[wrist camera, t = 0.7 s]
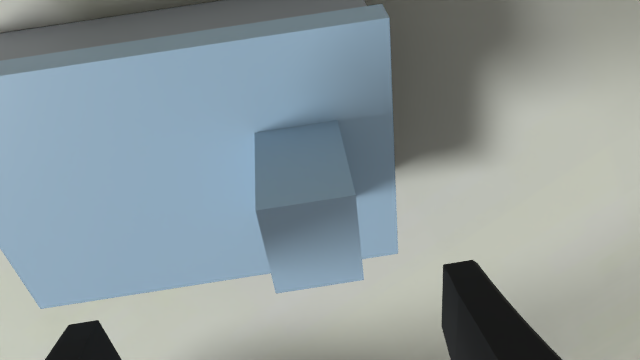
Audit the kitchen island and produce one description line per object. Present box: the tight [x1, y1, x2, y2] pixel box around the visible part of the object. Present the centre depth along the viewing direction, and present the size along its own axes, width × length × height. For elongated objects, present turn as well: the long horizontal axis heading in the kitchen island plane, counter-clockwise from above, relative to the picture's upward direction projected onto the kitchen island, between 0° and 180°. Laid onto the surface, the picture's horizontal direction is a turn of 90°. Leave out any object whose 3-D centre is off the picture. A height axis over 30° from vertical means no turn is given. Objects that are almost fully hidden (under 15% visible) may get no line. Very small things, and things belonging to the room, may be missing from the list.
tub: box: [0, 0, 367, 61], centre depth 19 cm, size 8×12×3 cm, turn 96°
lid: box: [0, 4, 398, 309], centre depth 16 cm, size 9×13×4 cm
